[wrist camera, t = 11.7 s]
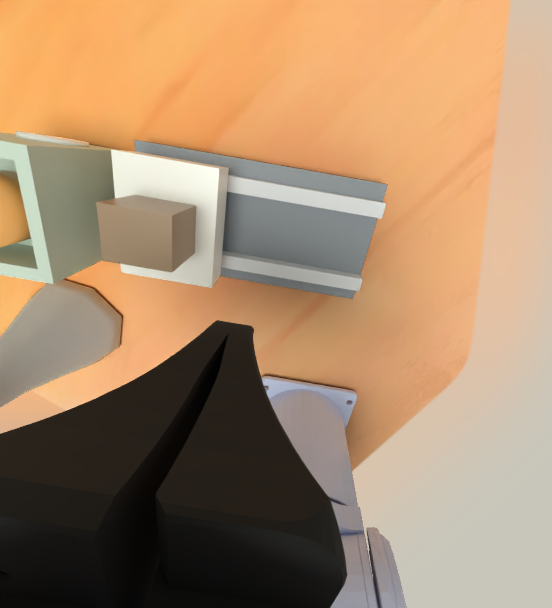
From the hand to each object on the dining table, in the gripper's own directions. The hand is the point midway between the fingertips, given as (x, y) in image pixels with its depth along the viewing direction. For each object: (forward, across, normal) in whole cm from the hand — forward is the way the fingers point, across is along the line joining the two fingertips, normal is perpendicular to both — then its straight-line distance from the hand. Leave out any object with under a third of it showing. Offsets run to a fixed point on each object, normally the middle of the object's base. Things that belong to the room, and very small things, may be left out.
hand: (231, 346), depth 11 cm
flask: (+11, +14, +8) cm, 19 cm away
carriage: (+8, +5, -2) cm, 9 cm away
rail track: (+10, +1, -2) cm, 11 cm away
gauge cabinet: (+11, +11, -2) cm, 16 cm away
